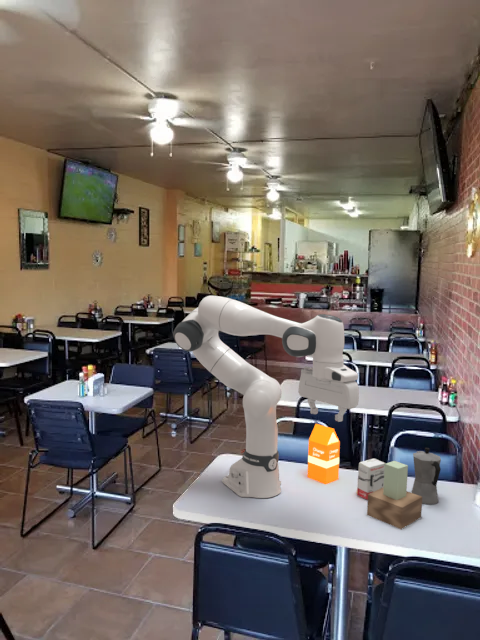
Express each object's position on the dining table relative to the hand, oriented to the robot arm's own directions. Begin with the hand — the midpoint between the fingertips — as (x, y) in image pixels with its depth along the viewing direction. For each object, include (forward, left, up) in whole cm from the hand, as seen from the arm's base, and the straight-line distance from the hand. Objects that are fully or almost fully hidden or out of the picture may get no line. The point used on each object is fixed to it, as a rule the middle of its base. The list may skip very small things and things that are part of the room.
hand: (326, 417), depth 148 cm
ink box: (-6, +32, -34) cm, 47 cm away
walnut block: (+8, +25, -34) cm, 43 cm away
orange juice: (-26, +30, -34) cm, 52 cm away
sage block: (+8, +25, -27) cm, 38 cm away
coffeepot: (+8, +44, -34) cm, 56 cm away
